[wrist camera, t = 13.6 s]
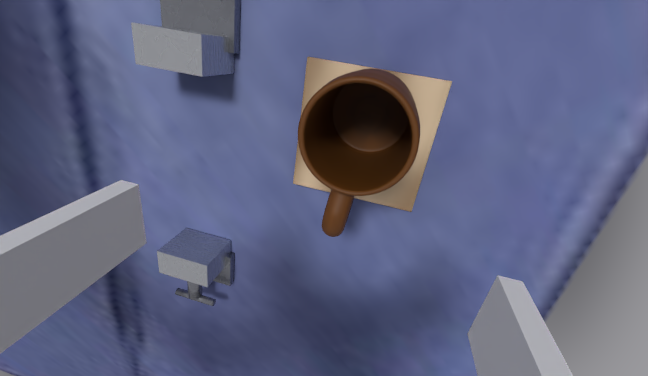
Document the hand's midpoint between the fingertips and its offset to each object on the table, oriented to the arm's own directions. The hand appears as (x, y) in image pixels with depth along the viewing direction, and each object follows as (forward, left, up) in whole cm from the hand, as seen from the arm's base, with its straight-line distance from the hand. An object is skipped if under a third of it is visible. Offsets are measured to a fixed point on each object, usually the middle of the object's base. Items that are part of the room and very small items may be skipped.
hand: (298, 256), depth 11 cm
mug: (0, 0, -19) cm, 19 cm away
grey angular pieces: (-16, -6, -19) cm, 25 cm away
